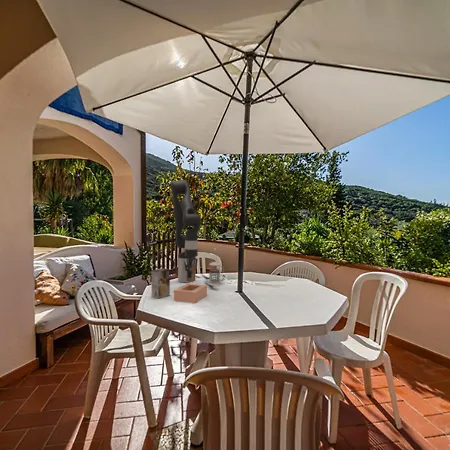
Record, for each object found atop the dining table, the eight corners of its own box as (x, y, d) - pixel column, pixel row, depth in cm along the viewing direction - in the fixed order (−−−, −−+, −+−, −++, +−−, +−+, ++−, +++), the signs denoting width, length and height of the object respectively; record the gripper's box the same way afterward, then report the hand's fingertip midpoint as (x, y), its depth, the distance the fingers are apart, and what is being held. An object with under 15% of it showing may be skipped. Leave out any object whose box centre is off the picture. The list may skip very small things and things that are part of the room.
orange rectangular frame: (187, 292, 198) (187, 283, 197) (206, 295, 194) (207, 285, 193) (173, 300, 181) (173, 290, 180) (194, 303, 177) (194, 292, 176)
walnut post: (189, 279, 189) (189, 263, 189) (195, 280, 188) (195, 263, 187) (186, 281, 185) (186, 264, 185) (192, 281, 184) (192, 264, 184)
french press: (205, 282, 226) (206, 247, 224) (220, 281, 231) (221, 247, 229) (210, 285, 217) (211, 249, 216) (226, 284, 222) (226, 248, 220)
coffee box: (162, 293, 195) (163, 267, 194) (170, 295, 191) (170, 269, 190) (151, 296, 188) (151, 269, 187) (158, 298, 184) (158, 271, 183)
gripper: (190, 246, 194) (190, 274, 194) (180, 249, 180) (179, 279, 181) (202, 247, 191) (201, 275, 192) (192, 249, 178) (191, 280, 179)
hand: (191, 277), depth 187 cm, fingers closed on walnut post, 4 cm apart
